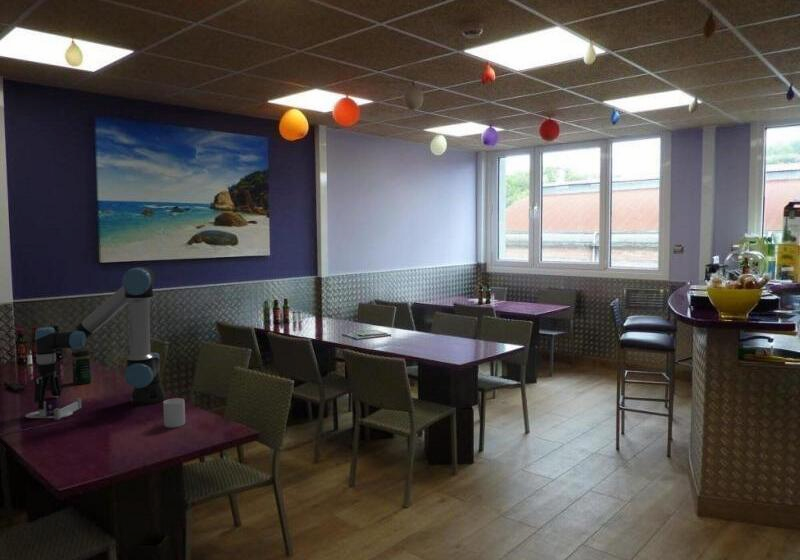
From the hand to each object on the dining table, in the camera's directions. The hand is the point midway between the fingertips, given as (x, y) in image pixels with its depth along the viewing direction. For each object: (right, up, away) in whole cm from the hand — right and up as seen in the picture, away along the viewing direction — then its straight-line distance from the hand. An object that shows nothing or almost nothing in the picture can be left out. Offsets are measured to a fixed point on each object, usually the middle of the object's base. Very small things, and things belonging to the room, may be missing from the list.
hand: (49, 413), depth 265 cm
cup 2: (+60, -2, -14) cm, 62 cm away
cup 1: (0, 0, +1) cm, 1 cm away
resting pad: (0, -1, 0) cm, 1 cm away
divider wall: (+8, -1, +2) cm, 8 cm away
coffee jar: (-16, +3, +57) cm, 59 cm away
